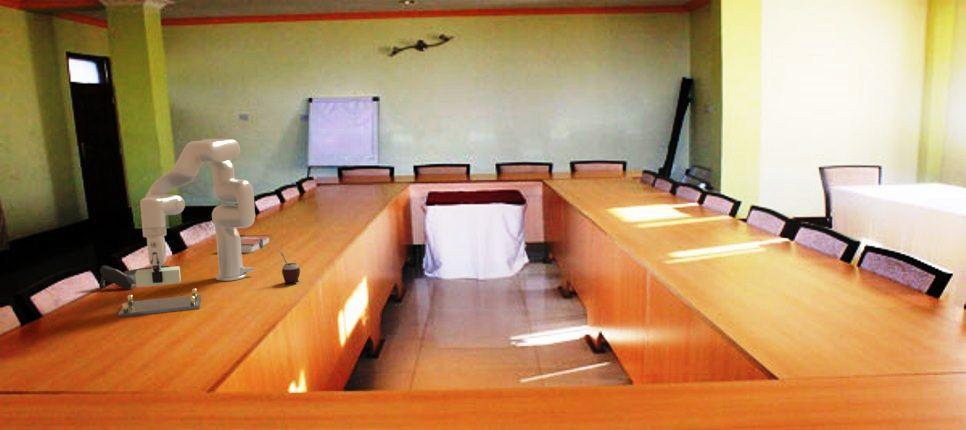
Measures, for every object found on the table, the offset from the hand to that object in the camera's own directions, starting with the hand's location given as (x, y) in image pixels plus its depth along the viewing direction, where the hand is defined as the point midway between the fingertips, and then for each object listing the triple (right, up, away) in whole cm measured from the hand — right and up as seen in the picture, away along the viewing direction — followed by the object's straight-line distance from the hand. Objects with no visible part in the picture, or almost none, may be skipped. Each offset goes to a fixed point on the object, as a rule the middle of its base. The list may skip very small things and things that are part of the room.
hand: (158, 279), depth 231 cm
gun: (-31, -7, +28) cm, 42 cm away
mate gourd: (+38, -5, +33) cm, 50 cm away
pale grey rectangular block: (0, -1, 0) cm, 1 cm away
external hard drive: (-27, -4, +44) cm, 51 cm away
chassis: (0, -10, +2) cm, 10 cm away
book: (-7, +6, +103) cm, 104 cm away
